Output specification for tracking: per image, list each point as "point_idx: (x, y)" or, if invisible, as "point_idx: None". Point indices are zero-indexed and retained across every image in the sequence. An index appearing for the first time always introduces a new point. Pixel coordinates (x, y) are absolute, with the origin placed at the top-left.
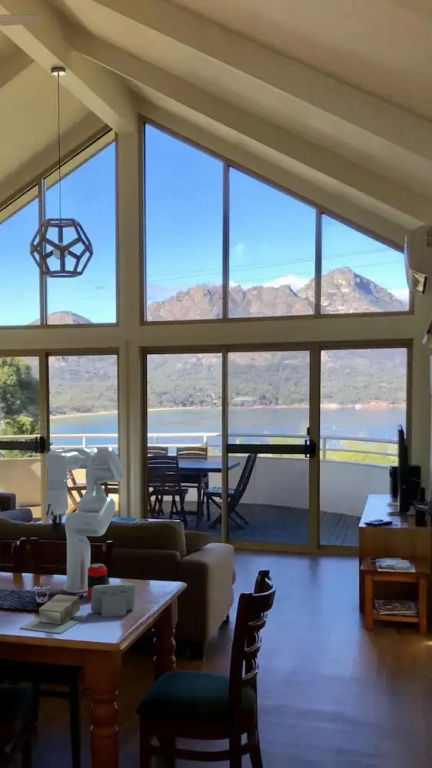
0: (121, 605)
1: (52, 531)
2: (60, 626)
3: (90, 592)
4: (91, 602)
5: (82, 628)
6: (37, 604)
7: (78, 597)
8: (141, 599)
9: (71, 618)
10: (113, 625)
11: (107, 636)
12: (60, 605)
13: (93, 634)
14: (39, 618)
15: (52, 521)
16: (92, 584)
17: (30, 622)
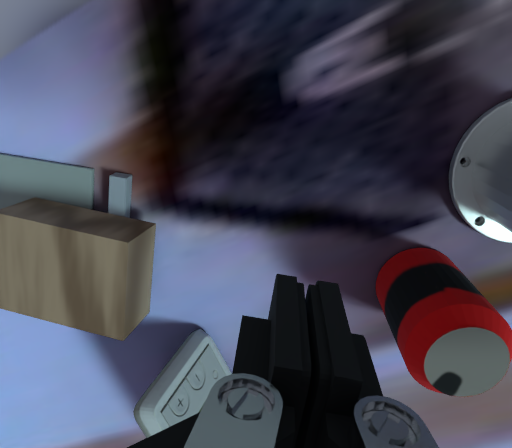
0: None
1: (276, 281)
2: None
3: (384, 277)
4: (174, 355)
5: (45, 345)
6: (256, 76)
7: (119, 338)
8: None
9: None
10: (99, 418)
11: (10, 425)
12: (38, 289)
13: (10, 388)
14: (73, 176)
15: (192, 418)
16: (389, 304)
17: (23, 162)
